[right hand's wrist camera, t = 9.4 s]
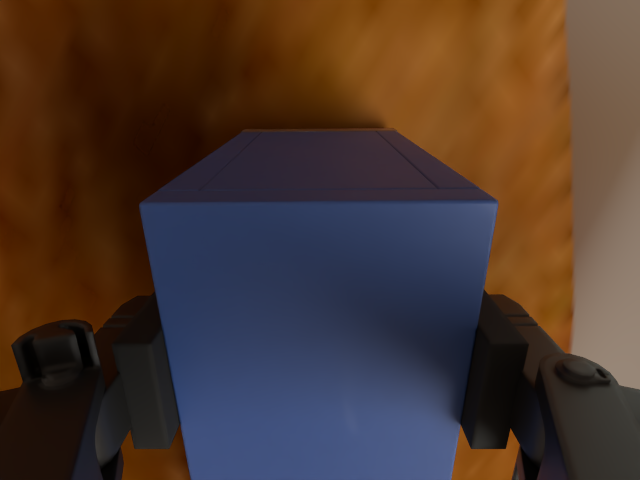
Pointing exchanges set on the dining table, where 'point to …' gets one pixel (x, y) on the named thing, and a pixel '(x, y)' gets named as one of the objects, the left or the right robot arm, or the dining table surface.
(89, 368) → the right robot arm
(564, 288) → the dining table surface
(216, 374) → the cabinet
